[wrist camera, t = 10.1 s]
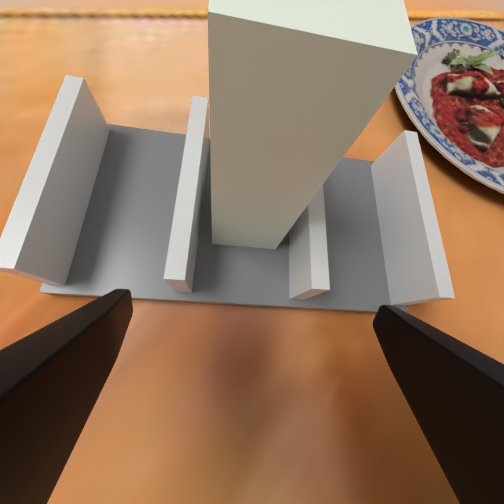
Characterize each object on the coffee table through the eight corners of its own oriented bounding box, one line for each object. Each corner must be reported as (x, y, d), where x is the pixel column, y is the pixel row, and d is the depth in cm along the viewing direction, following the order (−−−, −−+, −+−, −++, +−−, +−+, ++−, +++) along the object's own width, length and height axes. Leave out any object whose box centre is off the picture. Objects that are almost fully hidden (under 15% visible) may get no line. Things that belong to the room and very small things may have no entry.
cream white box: (275, 189, 19) (385, -66, 7) (275, 249, 17) (417, 55, 5) (217, 182, 18) (226, -110, 6) (212, 244, 17) (207, 11, 5)
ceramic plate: (620, 231, 25) (671, 219, 22) (391, 194, 22) (417, 174, 20) (543, 62, 34) (573, 37, 31) (370, 18, 31) (385, -13, 28)
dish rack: (397, 314, 18) (460, 307, 14) (50, 294, 15) (-22, 277, 11) (376, 170, 23) (418, 127, 18) (99, 132, 19) (63, 68, 15)
